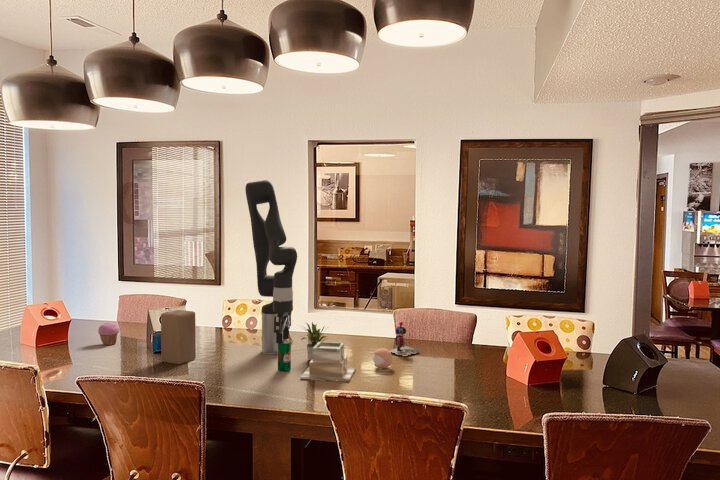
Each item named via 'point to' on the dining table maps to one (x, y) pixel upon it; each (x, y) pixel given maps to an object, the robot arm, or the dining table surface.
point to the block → (178, 336)
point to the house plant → (313, 338)
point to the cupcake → (108, 333)
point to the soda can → (284, 355)
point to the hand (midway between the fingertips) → (282, 341)
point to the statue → (402, 342)
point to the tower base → (328, 363)
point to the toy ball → (382, 358)
